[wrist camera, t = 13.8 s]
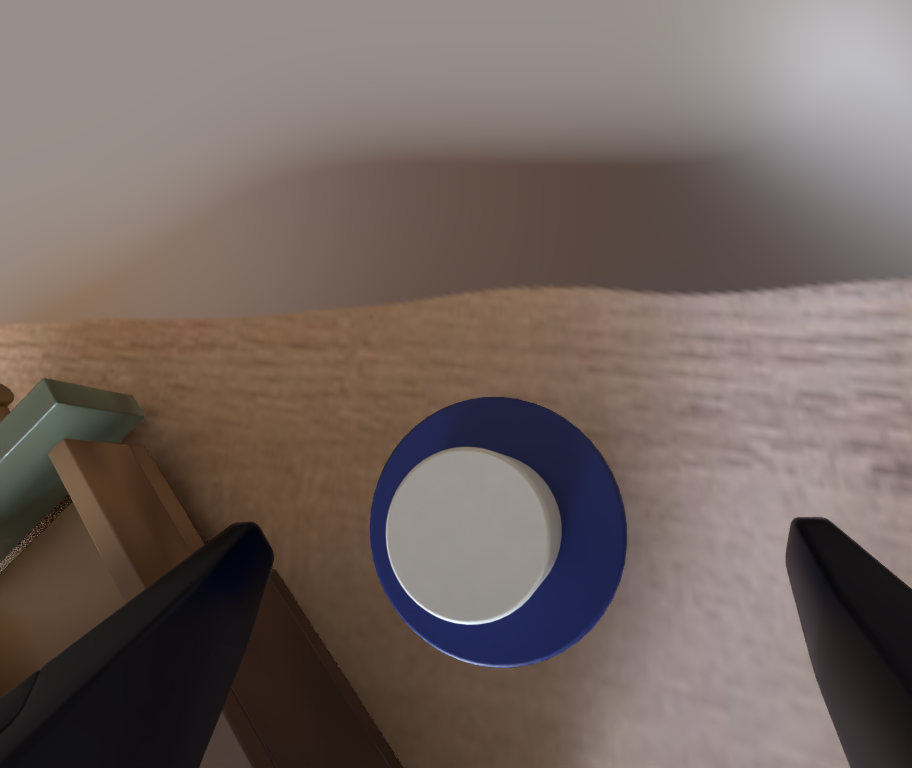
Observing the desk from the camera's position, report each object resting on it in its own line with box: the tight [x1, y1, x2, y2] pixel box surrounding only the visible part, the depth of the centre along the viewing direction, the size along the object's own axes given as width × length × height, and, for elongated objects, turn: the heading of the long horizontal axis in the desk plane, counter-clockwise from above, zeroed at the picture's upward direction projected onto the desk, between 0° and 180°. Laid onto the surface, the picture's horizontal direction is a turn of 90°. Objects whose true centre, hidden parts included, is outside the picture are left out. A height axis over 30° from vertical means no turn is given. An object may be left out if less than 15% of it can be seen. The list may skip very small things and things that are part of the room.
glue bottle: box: [370, 397, 627, 668], centre depth 12 cm, size 4×4×10 cm
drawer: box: [0, 378, 204, 698], centre depth 19 cm, size 16×12×4 cm
